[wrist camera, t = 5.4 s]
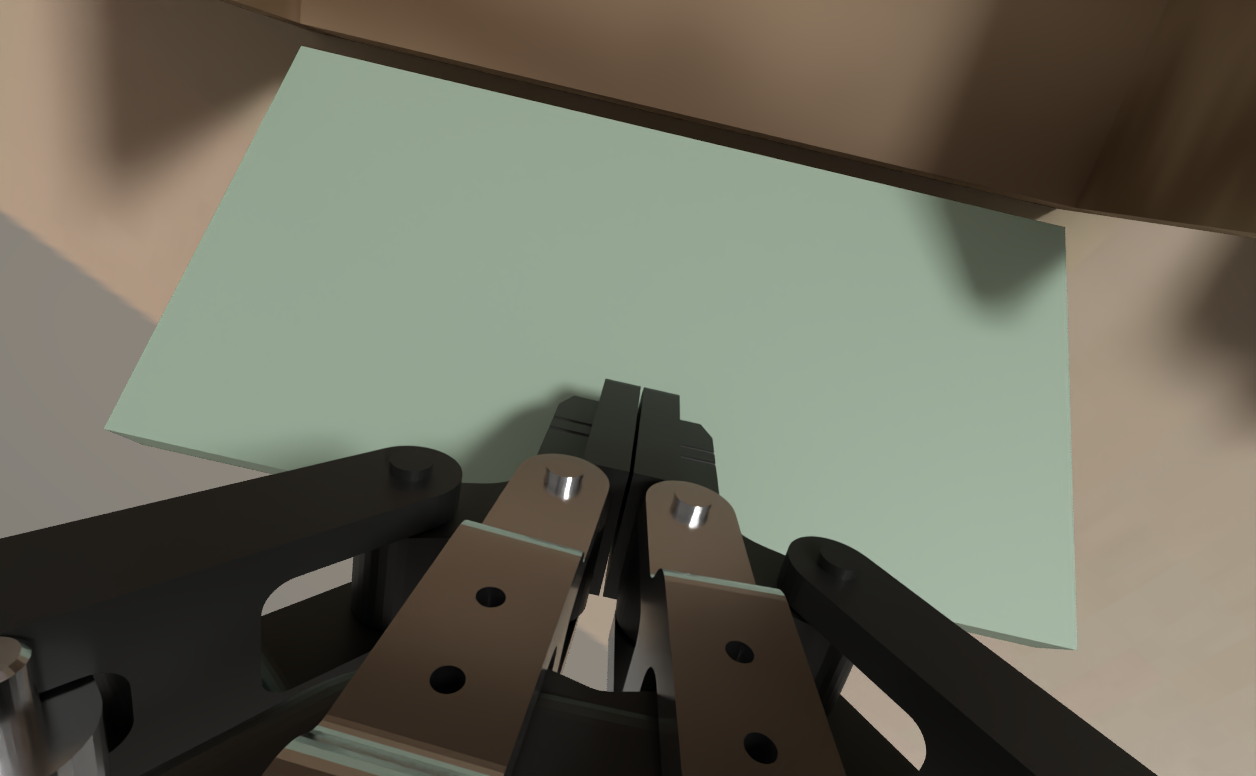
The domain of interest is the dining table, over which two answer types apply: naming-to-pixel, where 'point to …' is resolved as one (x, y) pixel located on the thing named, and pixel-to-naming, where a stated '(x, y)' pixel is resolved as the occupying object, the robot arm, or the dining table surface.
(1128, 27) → the box
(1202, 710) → the dining table surface
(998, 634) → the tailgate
